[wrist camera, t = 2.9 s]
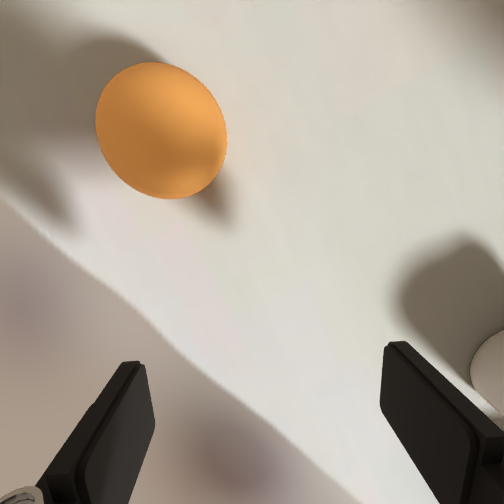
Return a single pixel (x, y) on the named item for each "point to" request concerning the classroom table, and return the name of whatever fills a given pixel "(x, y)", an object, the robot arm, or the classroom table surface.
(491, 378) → the cup
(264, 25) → the classroom table surface
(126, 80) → the ball
